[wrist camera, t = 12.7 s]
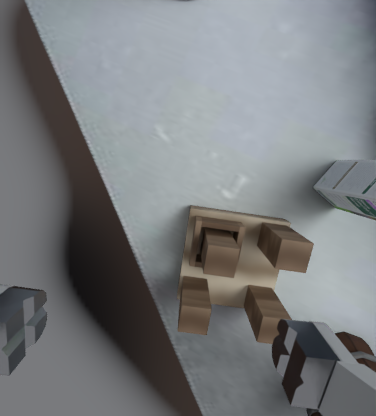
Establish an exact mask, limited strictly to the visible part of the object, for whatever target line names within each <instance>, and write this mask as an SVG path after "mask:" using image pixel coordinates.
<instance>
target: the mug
mask: <svg viewBox="0 0 376 416" xmlns="http://www.w3.org/2000/svg"><path fill="white" fill-rule="evenodd" d="M335 335H336V336H337V337H338V339H339V340H340V341H341V342H342V343H343V345H344V346H345V347H346V348H347V350H348V351H349V352H350V353H351V355H352V356H353V357H354V358H355V360H356V361H357V362H358V363H359V364H364V365H365V366H367V367H368V368H370V369H371V370H373V371H374V372H376V357H375V356H374V354H373V352H372V350H371V348H370V347H369V345H368V344H367V343H366V342H365V341H364V340H363V339H362V338H359V337H357V336H354V335H351V334H349V333H346V332H341V333H337V334H335ZM307 414H308V416H322V415H321V413H320V412H319V410H318V409H310V408H307Z"/></svg>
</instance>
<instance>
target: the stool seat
mask: <svg viewBox="0 0 376 416" xmlns="http://www.w3.org/2000/svg"><path fill="white" fill-rule="evenodd" d="M290 225H291V223H290V222H288V221H287V220H285V219H280V218H274V217H267V216H260V215H253V214H246V213H240V212H233V211H226V210H219V209H212V208H206V207H199V206H192V205H191V207H190V213H189V220H188V226H187V233H186V239H185V246H184V252H183V259H182V265H181V272H180V278H179V285H178V292H177V299H180V305H179V319H178V331H179V332H187V333H194V334H202V335H207V331H208V326H209V320H210V315H211V310H212V309H211V304H216V305H224V306H231V307H238V308H245V311H246V313H247V316H248V319H249V322H250V324H251V327H252V330H253V332H254V335H255V338H256V341H257V342H261V343H269V344H273V340H274V338H275V337H276V336H278V335H279V332H278V330H277V325H278V322H279V321H280V319H288V320H292V319H291V317H290V316H289V314H288V313H287V311H286V310H285V308H284V306H283V305H282V303H281V302H280V300H279V299H278V297H277V295H276V294H275V292H274V289H275V285H276V281H277V277H278V273H279V269H281V270H288V271H295V272H302V273H306V270H307V267H308V263H309V259H310V256H311V252H312V248H313V245H314V244H313V243H312V242H310V241H309V240H308V239H306V238H305V237H303V236H302V235H300V234H299V233H297V232H296V231H294V230H293V229H291V228H290ZM204 227H208V228H215V229H222V230H229V231H230V233H231V234H232V236H233V238H234V240H235V241H236V243H237V245H238V247H239V249H240V251H239V256H238V261H237V266H236V271H235V275H234V278H229V277H221V276H214V275H207V274H203V268H202V259H201V251H200V249H201V244H202V238H203V232H204Z"/></svg>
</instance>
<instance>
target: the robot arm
mask: <svg viewBox="0 0 376 416" xmlns="http://www.w3.org/2000/svg"><path fill="white" fill-rule="evenodd" d="M46 301H47V298H46V292H45V291H44V290H39V289H31V288H25V287H18V286H9V285H2V284H0V375H7V376H9V375H10V374H11V373H12V371H13V370H14V369H15V368H16V367H17V365H18V364H19V363H20V362H21V360H22V359H23V358H24V357H25V349H26V348H27V347H29V346H31V345H33V344H35V343H36V342H37V340H38V339H39V338H40V336H41V334H42V332H43V330H44V328H45V325H46V321H47V312H46V311H45V309H44V308H43V307H42V306H43V305H44V304H45V302H46ZM277 330H278V332H279V335H278V336H276V337H275V338H274V340H273V344H272V358H273V363H274V365H275V368H276V370H277V371H278V372H279V373H280V374H281V375H282V376H283V381H282V385H283V388H284V390H285V393H286V395H287V398H288V400H289V403H290V405H291V406H296V407H303V408H310V409H318V410H319V412H320V413H321V415H322V416H376V372H374V371H373V370H371V369H370V368H368V367H367V366H365V365H364V364H359V363H358V362H357V361H356V360H355V358H354V357H353V356H352V355H351V353H350V352H349V351H348V350H347V348H346V347H345V346H344V345H343V343H342V342H341V341H340V340H339V339H338V337H337V336H336V335H335V334H334V332H333V331H332V330H331V329H330V327H329V326H328V325H327V324H325V323H322V322H310V321H309V322H306V321H297V320H288V319H280V321H279V322H278V325H277Z"/></svg>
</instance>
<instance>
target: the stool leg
mask: <svg viewBox="0 0 376 416" xmlns="http://www.w3.org/2000/svg"><path fill="white" fill-rule="evenodd" d="M200 251H201V259H202V268H203V274H207V275H214V276H221V277H229V278H234V275H235V271H236V266H237V261H238V256H239V251H240V249H239V247H238V245H237V243H236V241H235V240H234V238H233V236H232V234H231V233H230V231H229V230H222V229H215V228H208V227H204V232H203V238H202V244H201V249H200Z"/></svg>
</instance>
